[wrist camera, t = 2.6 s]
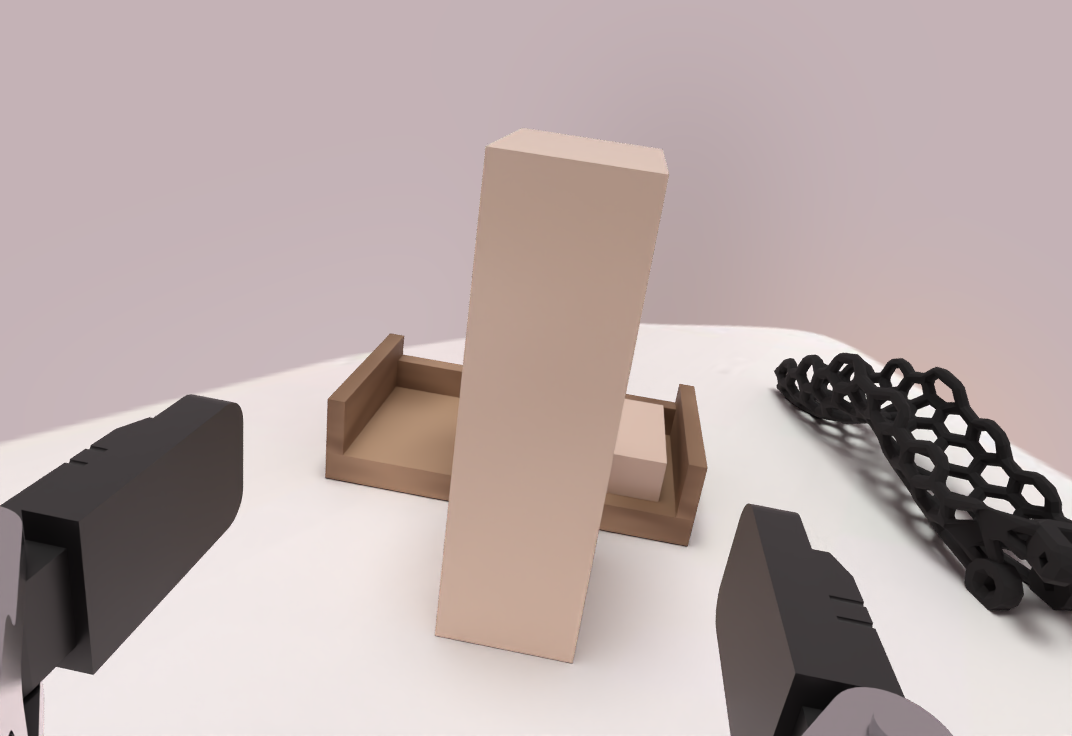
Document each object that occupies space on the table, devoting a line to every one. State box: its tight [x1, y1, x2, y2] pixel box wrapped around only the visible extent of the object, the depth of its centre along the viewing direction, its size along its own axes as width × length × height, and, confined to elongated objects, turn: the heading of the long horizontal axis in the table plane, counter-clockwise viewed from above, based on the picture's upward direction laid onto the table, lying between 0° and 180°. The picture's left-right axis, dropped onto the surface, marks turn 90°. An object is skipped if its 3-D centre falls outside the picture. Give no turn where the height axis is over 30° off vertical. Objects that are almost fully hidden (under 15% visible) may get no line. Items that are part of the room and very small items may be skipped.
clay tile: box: [606, 399, 667, 502], centre depth 33 cm, size 4×6×2 cm
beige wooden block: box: [435, 128, 669, 663], centre depth 23 cm, size 4×6×15 cm
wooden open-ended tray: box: [325, 334, 707, 546], centre depth 34 cm, size 15×8×4 cm, turn 82°
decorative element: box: [774, 353, 1072, 610], centre depth 36 cm, size 22×5×6 cm, turn 10°
